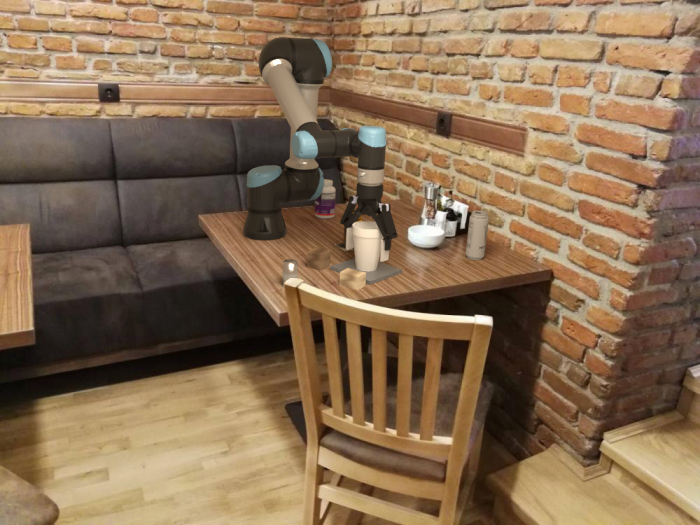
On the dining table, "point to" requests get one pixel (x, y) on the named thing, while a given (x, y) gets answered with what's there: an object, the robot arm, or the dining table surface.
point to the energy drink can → (477, 235)
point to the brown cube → (318, 258)
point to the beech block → (352, 279)
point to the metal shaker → (290, 269)
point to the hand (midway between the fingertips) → (366, 254)
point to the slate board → (371, 276)
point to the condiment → (343, 245)
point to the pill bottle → (326, 201)
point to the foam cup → (366, 245)
